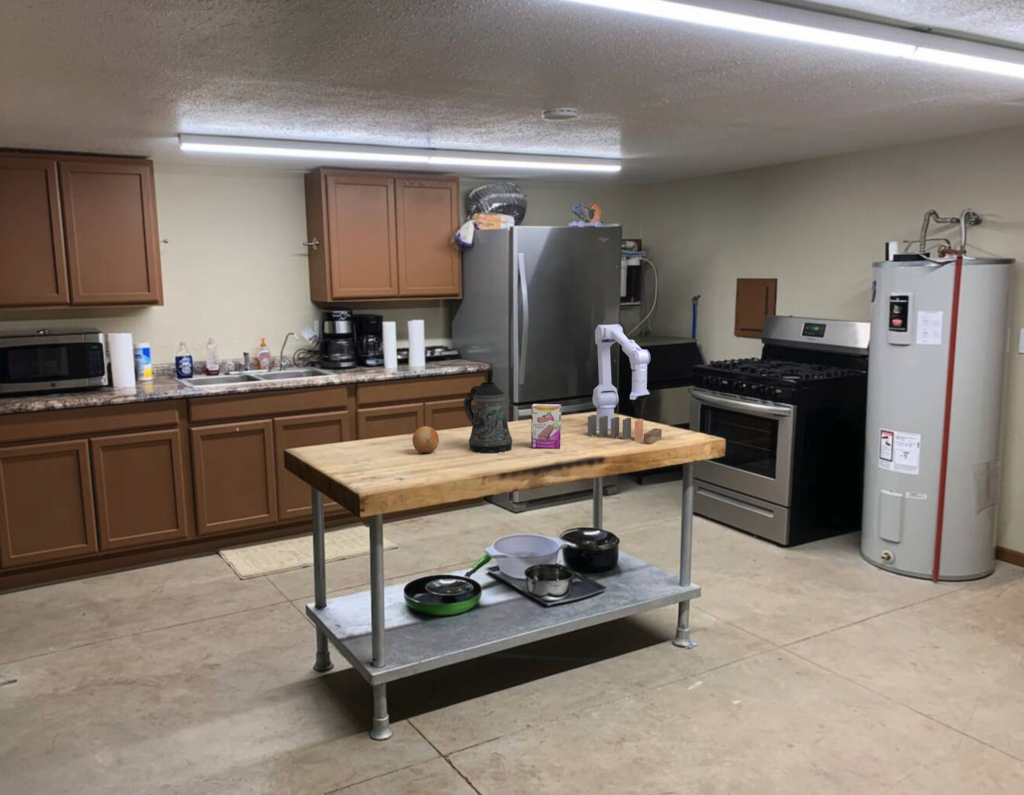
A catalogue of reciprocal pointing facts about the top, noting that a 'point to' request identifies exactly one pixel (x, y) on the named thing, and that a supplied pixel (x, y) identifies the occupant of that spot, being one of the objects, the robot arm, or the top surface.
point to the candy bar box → (546, 426)
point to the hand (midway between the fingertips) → (638, 415)
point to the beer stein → (488, 419)
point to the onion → (425, 439)
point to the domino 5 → (638, 429)
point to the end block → (652, 436)
